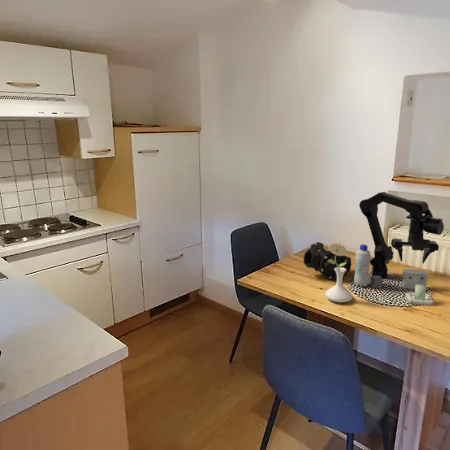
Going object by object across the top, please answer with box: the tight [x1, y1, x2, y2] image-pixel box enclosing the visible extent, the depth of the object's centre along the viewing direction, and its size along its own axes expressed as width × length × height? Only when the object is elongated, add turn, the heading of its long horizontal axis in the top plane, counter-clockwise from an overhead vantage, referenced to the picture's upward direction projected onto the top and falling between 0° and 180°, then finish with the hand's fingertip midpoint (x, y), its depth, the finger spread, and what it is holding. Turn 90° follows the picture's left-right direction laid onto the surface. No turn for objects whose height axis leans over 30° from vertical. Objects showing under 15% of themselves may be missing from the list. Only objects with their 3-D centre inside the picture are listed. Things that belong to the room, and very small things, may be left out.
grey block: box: [369, 275, 384, 288], centre depth 182 cm, size 4×4×4 cm
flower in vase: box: [324, 241, 353, 303], centre depth 166 cm, size 13×11×25 cm
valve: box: [303, 241, 352, 280], centre depth 200 cm, size 22×15×30 cm
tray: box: [405, 292, 435, 307], centre depth 166 cm, size 9×8×2 cm
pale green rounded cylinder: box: [414, 285, 427, 301], centre depth 165 cm, size 4×4×6 cm
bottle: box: [353, 243, 372, 288], centre depth 180 cm, size 7×7×20 cm
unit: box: [401, 268, 428, 292], centre depth 177 cm, size 10×6×8 cm, turn 79°
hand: (412, 262), depth 177 cm, fingers open, 9 cm apart
